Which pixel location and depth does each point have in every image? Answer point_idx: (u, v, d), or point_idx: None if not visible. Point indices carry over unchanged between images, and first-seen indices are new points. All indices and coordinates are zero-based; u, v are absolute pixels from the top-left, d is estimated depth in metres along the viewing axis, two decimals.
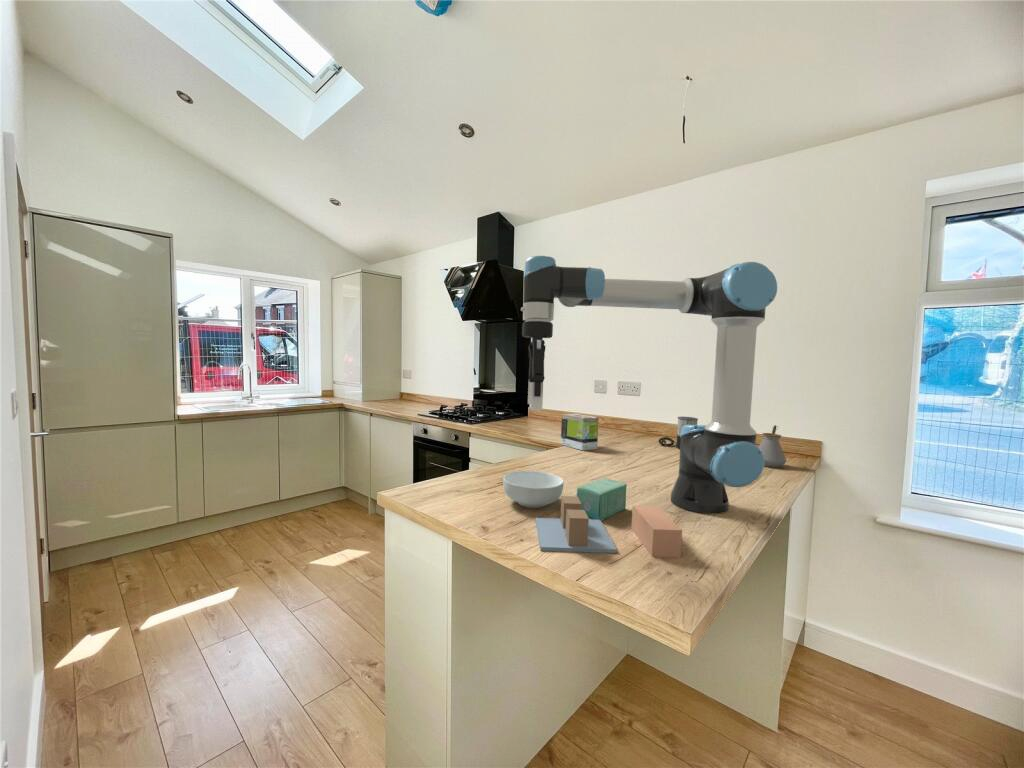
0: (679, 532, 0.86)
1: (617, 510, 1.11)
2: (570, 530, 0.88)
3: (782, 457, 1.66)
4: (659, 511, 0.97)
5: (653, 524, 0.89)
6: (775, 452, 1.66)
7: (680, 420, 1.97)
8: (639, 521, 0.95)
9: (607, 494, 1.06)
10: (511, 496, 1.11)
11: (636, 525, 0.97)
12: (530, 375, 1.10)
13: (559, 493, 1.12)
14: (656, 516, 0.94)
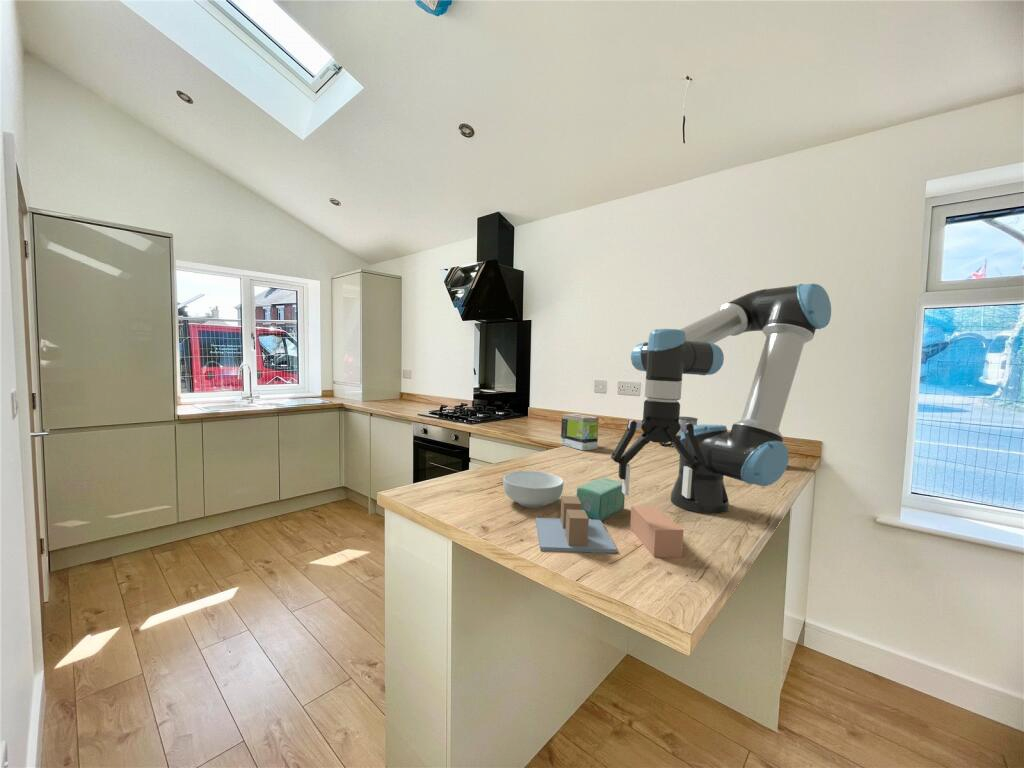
0: (680, 532, 0.86)
1: (616, 509, 1.11)
2: (570, 530, 0.88)
3: None
4: (658, 511, 0.97)
5: (654, 524, 0.89)
6: None
7: (680, 420, 1.97)
8: (639, 521, 0.95)
9: (607, 493, 1.06)
10: (511, 496, 1.11)
11: (635, 525, 0.97)
12: (685, 461, 0.93)
13: (559, 493, 1.12)
14: (655, 516, 0.94)
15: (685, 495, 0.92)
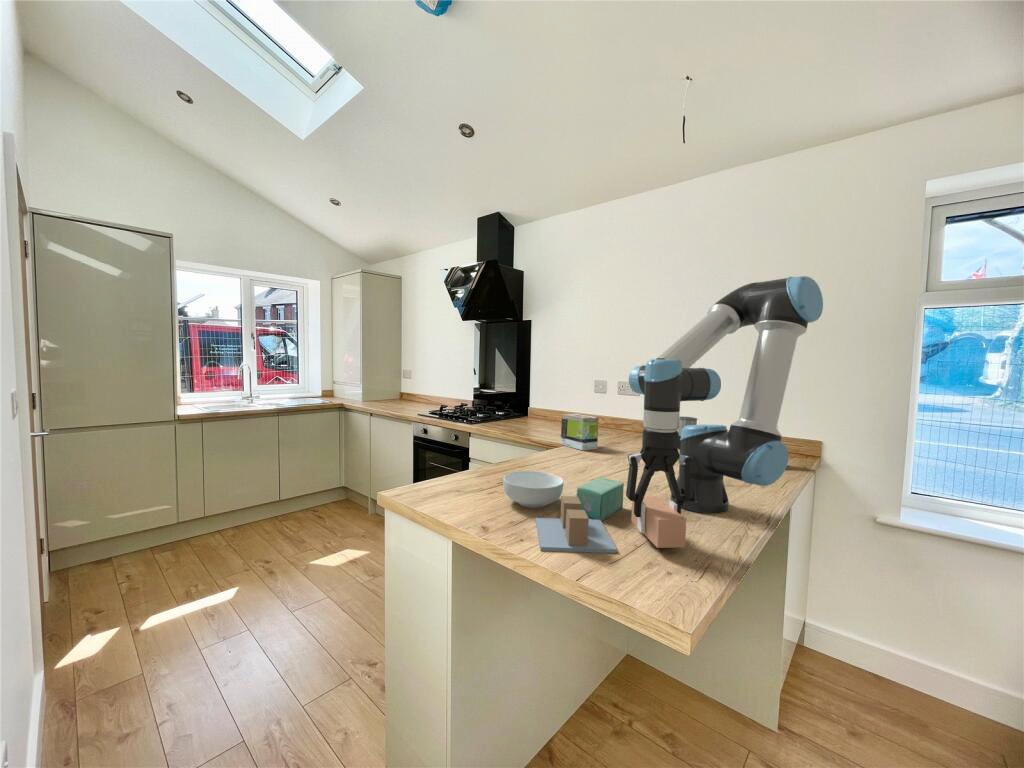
0: (683, 521, 0.87)
1: (616, 509, 1.11)
2: (570, 530, 0.88)
3: None
4: (659, 501, 0.97)
5: (657, 514, 0.89)
6: None
7: (679, 420, 1.97)
8: None
9: (607, 493, 1.07)
10: (511, 496, 1.11)
11: None
12: (672, 494, 0.94)
13: (559, 493, 1.12)
14: (657, 506, 0.94)
15: None
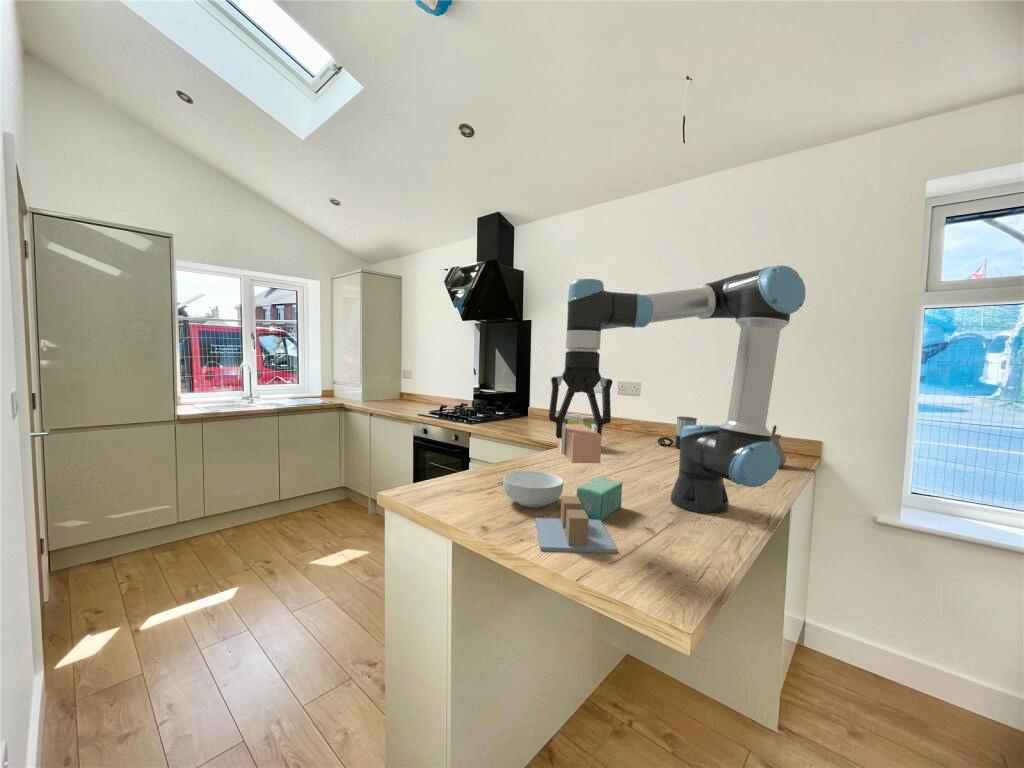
0: (599, 437, 0.87)
1: (615, 508, 1.12)
2: (570, 530, 0.88)
3: (782, 457, 1.66)
4: (584, 426, 0.97)
5: (574, 432, 0.89)
6: None
7: (679, 420, 1.97)
8: None
9: (607, 493, 1.07)
10: (511, 496, 1.11)
11: None
12: (594, 418, 0.95)
13: (559, 493, 1.12)
14: (579, 428, 0.94)
15: None
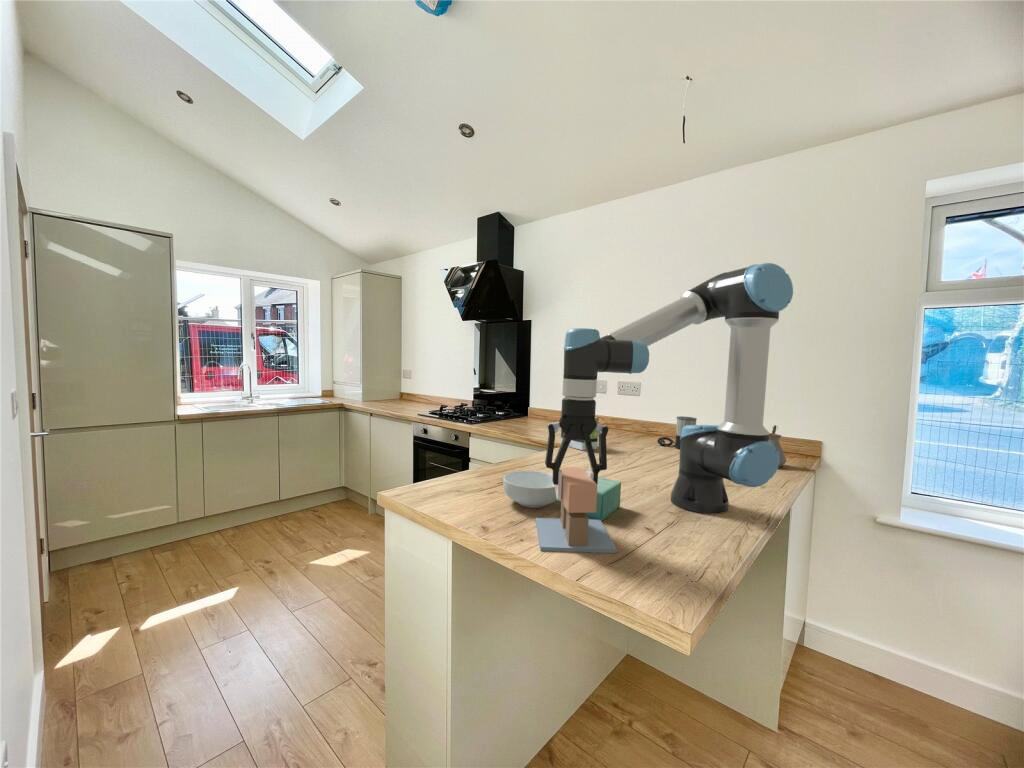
0: (594, 487, 0.88)
1: (614, 508, 1.12)
2: (570, 530, 0.88)
3: (782, 457, 1.66)
4: (580, 471, 0.98)
5: (570, 480, 0.90)
6: None
7: (679, 420, 1.97)
8: None
9: (607, 493, 1.07)
10: (511, 496, 1.11)
11: None
12: (590, 464, 0.95)
13: None
14: (575, 474, 0.95)
15: None
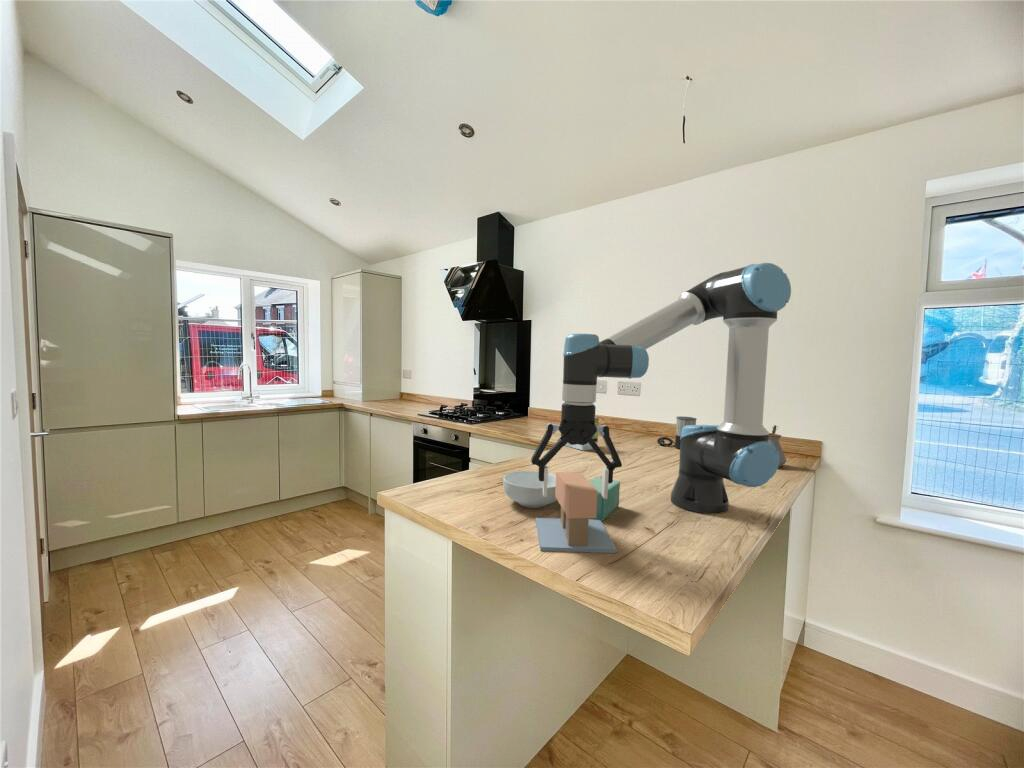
0: (595, 492, 0.88)
1: (613, 507, 1.12)
2: (570, 530, 0.88)
3: (782, 457, 1.66)
4: (581, 476, 0.98)
5: (570, 486, 0.90)
6: None
7: (679, 420, 1.97)
8: (560, 486, 0.96)
9: None
10: (511, 496, 1.11)
11: (558, 490, 0.98)
12: (604, 463, 0.95)
13: None
14: (576, 480, 0.95)
15: (603, 496, 0.94)
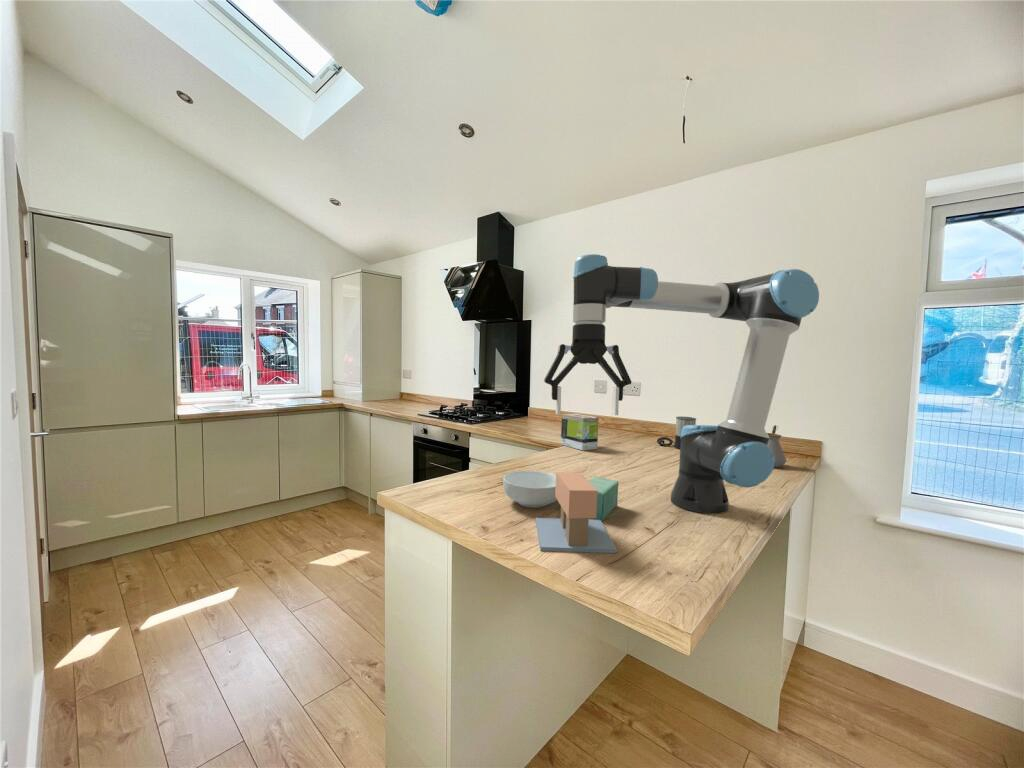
0: (595, 492, 0.88)
1: (613, 507, 1.12)
2: (570, 530, 0.88)
3: (782, 457, 1.66)
4: (581, 476, 0.98)
5: (570, 486, 0.90)
6: (775, 452, 1.66)
7: (678, 420, 1.97)
8: (560, 486, 0.96)
9: (607, 492, 1.07)
10: (511, 496, 1.11)
11: (558, 490, 0.98)
12: (614, 382, 1.00)
13: None
14: (576, 480, 0.95)
15: (614, 413, 0.98)
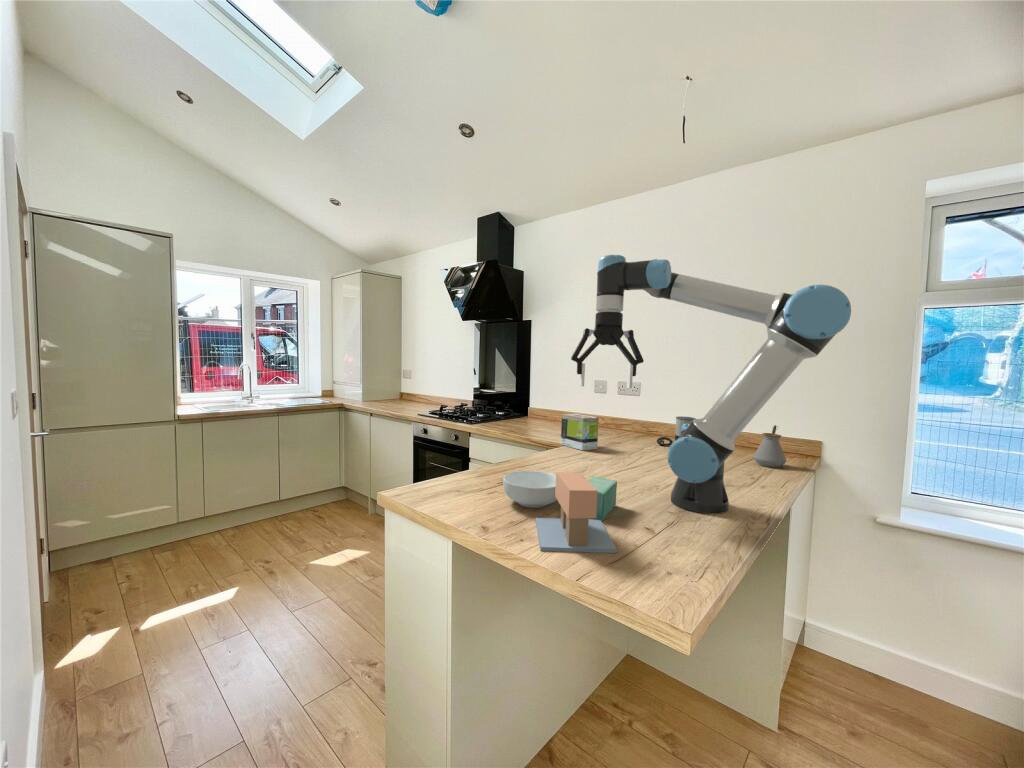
0: (595, 492, 0.88)
1: (612, 507, 1.13)
2: (570, 530, 0.88)
3: (782, 457, 1.66)
4: (581, 476, 0.98)
5: (570, 486, 0.90)
6: (775, 452, 1.66)
7: (678, 420, 1.97)
8: (560, 486, 0.96)
9: (607, 492, 1.07)
10: (511, 496, 1.11)
11: (558, 490, 0.98)
12: (629, 361, 1.20)
13: None
14: (576, 480, 0.95)
15: (628, 386, 1.19)
